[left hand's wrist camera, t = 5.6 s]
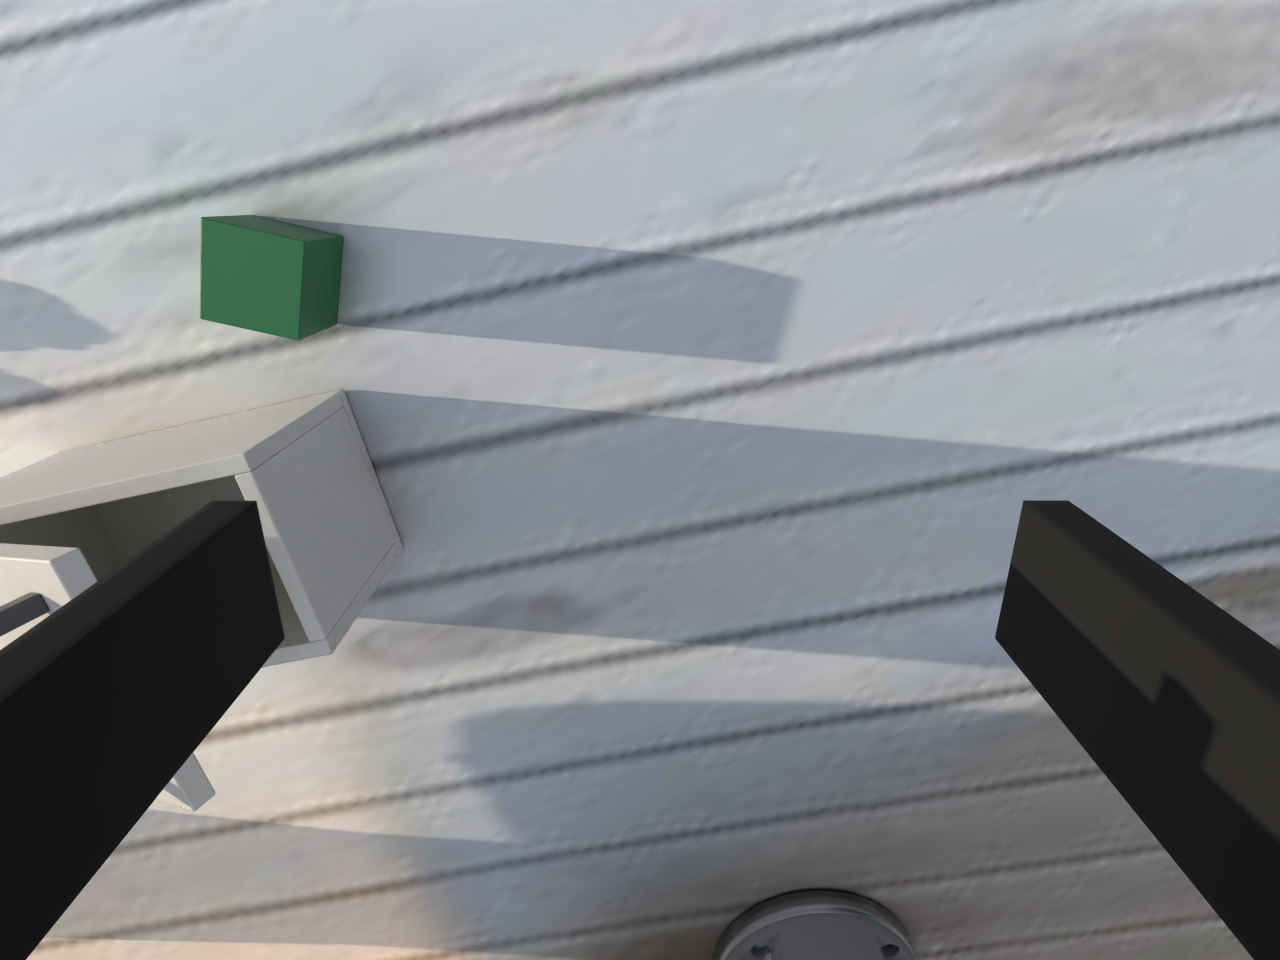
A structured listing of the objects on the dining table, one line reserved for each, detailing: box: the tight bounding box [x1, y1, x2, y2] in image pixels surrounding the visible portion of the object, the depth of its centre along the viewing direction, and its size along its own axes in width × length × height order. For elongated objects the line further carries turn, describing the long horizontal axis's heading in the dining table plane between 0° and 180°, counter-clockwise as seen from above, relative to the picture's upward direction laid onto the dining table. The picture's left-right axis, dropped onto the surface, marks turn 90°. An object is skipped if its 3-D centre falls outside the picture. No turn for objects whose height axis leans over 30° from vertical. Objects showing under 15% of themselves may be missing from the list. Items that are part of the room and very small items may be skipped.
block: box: [200, 215, 343, 340], centre depth 36 cm, size 5×5×5 cm
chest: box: [0, 389, 403, 668], centre depth 38 cm, size 17×10×11 cm, turn 103°
